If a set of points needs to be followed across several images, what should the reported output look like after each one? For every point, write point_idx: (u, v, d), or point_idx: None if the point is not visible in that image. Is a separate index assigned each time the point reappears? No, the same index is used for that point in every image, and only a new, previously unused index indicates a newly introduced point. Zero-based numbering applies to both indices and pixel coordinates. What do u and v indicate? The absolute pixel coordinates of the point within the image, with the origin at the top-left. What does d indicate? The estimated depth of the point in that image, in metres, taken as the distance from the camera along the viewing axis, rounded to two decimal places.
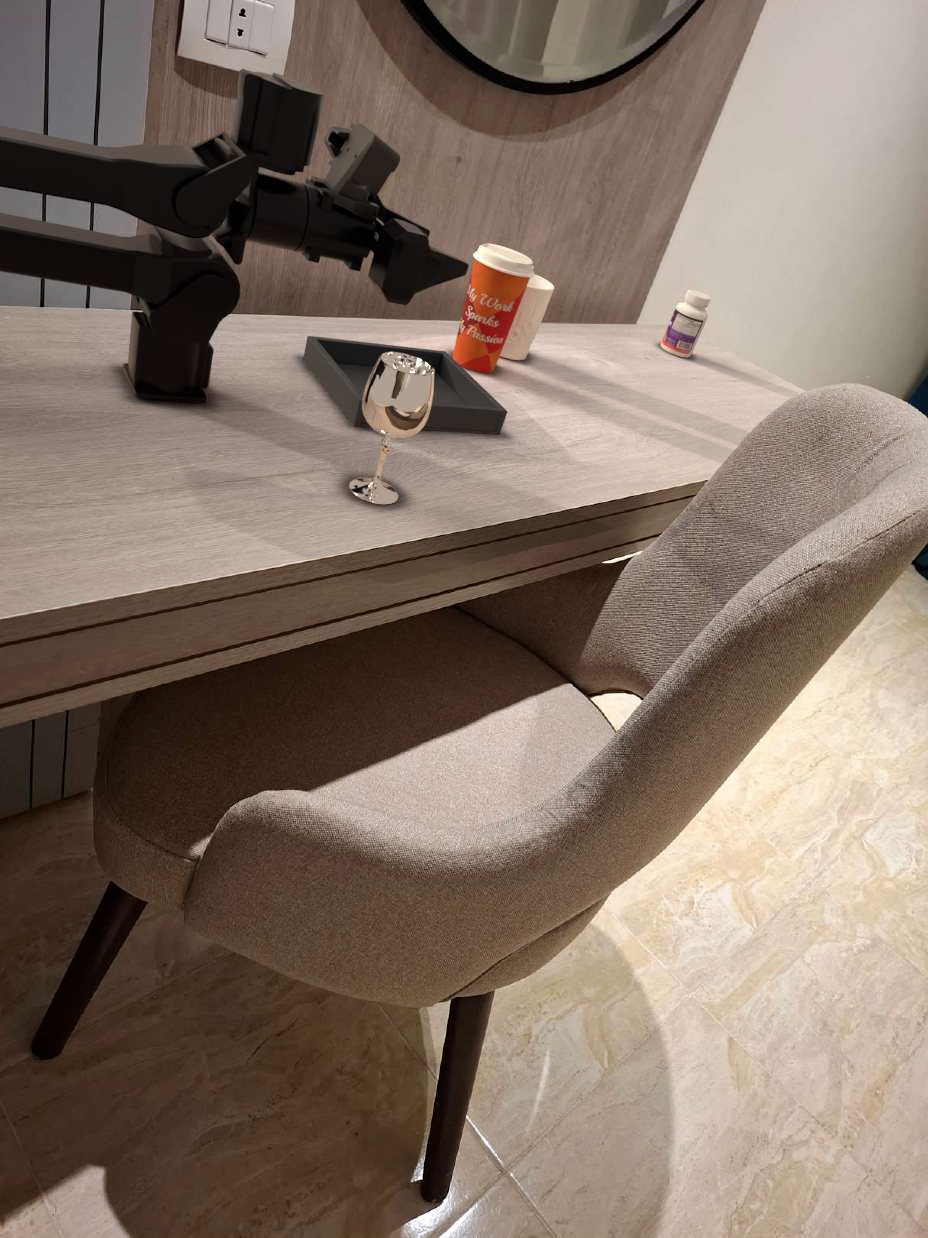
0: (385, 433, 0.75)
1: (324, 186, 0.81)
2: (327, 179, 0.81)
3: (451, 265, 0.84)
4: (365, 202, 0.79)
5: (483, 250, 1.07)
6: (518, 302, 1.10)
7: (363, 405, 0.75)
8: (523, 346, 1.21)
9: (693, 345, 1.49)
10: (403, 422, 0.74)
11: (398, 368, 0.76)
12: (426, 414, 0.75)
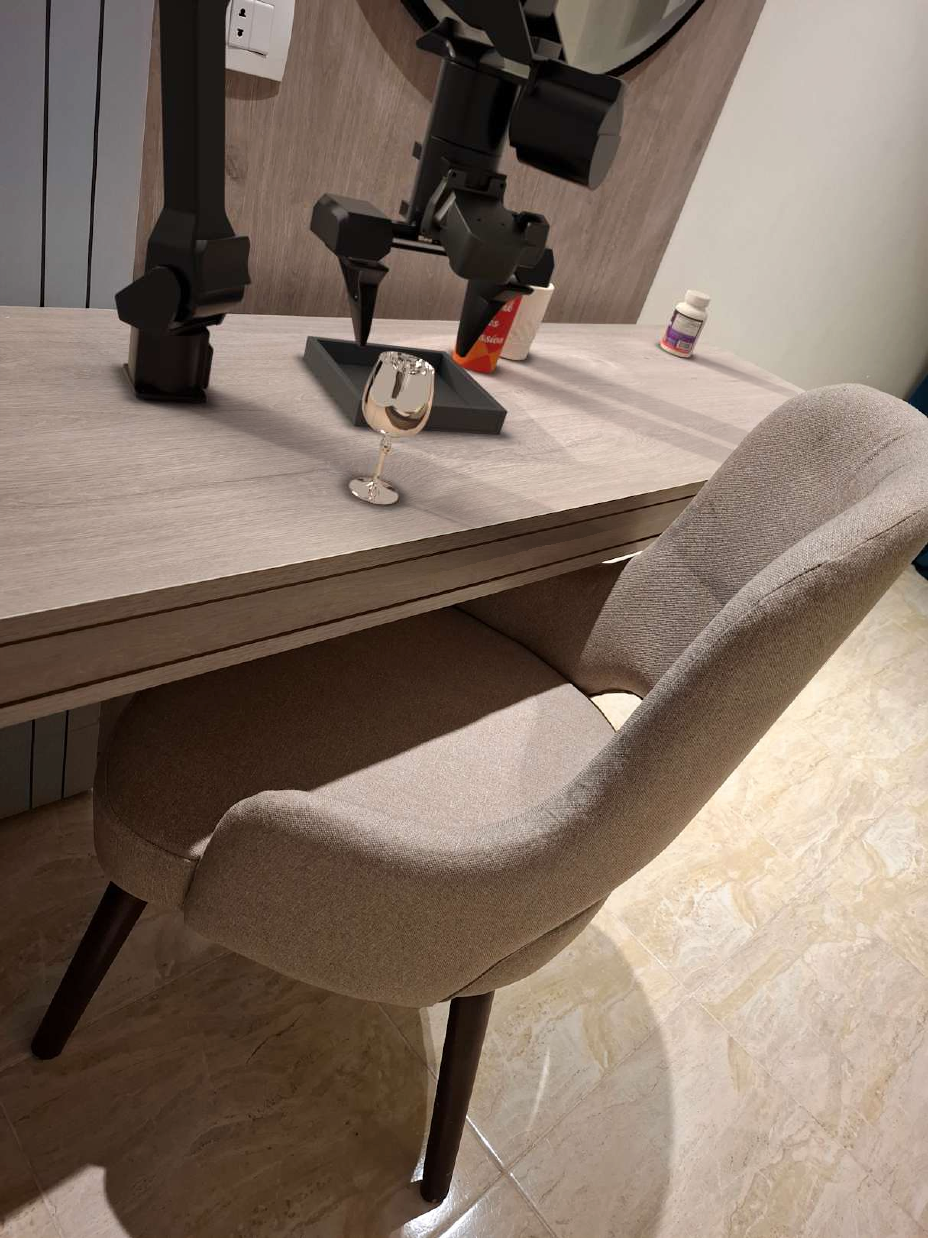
0: (385, 433, 0.75)
1: (485, 189, 0.65)
2: (492, 197, 0.65)
3: (357, 318, 0.69)
4: (433, 218, 0.64)
5: None
6: (518, 302, 1.10)
7: (363, 405, 0.75)
8: (523, 346, 1.21)
9: (693, 345, 1.49)
10: (403, 422, 0.74)
11: (398, 368, 0.76)
12: (426, 414, 0.75)
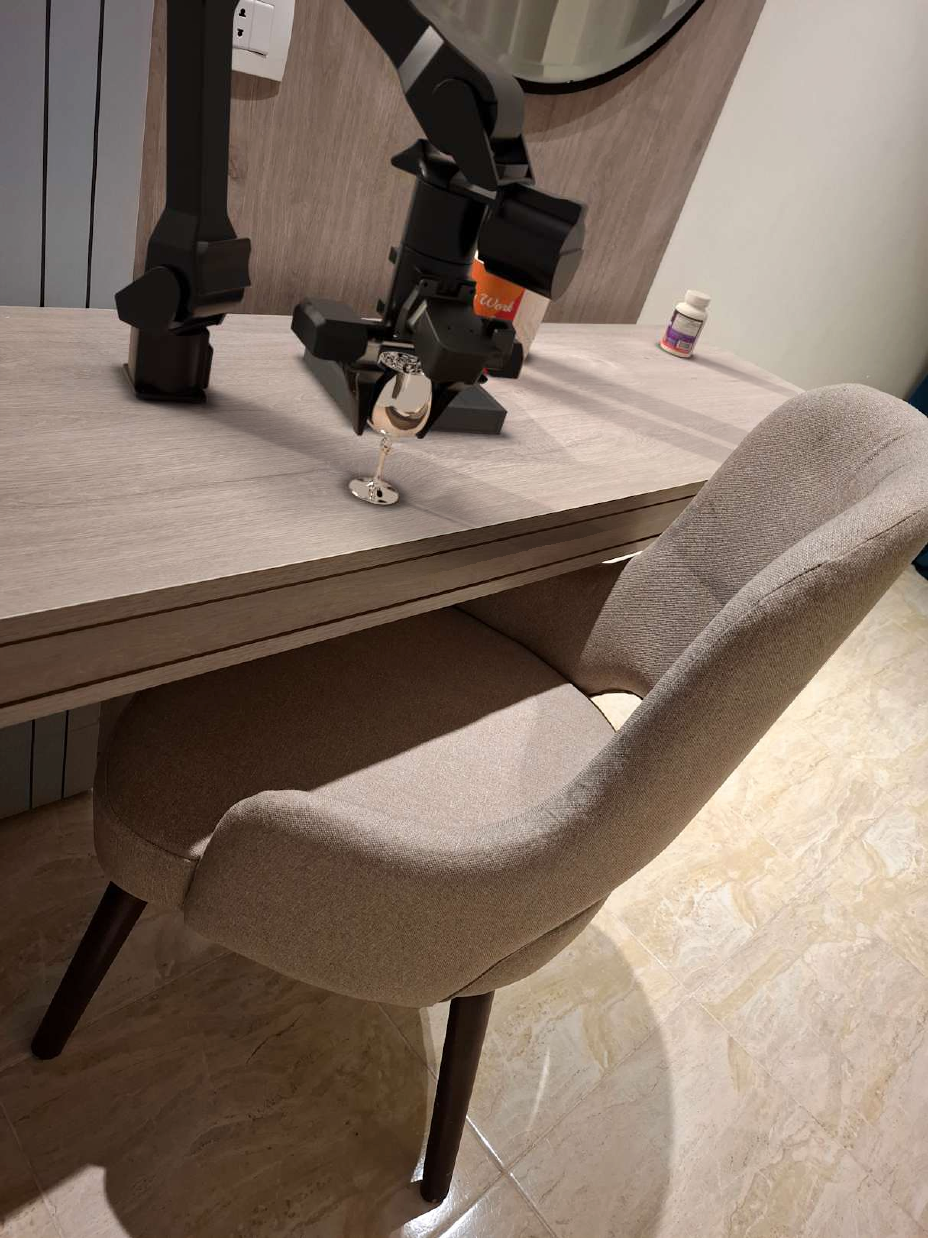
0: (385, 433, 0.75)
1: (455, 295, 0.68)
2: (463, 302, 0.69)
3: (355, 410, 0.74)
4: (406, 323, 0.68)
5: None
6: (518, 302, 1.10)
7: None
8: (523, 346, 1.21)
9: (693, 345, 1.49)
10: (403, 423, 0.74)
11: (398, 368, 0.76)
12: (426, 414, 0.75)
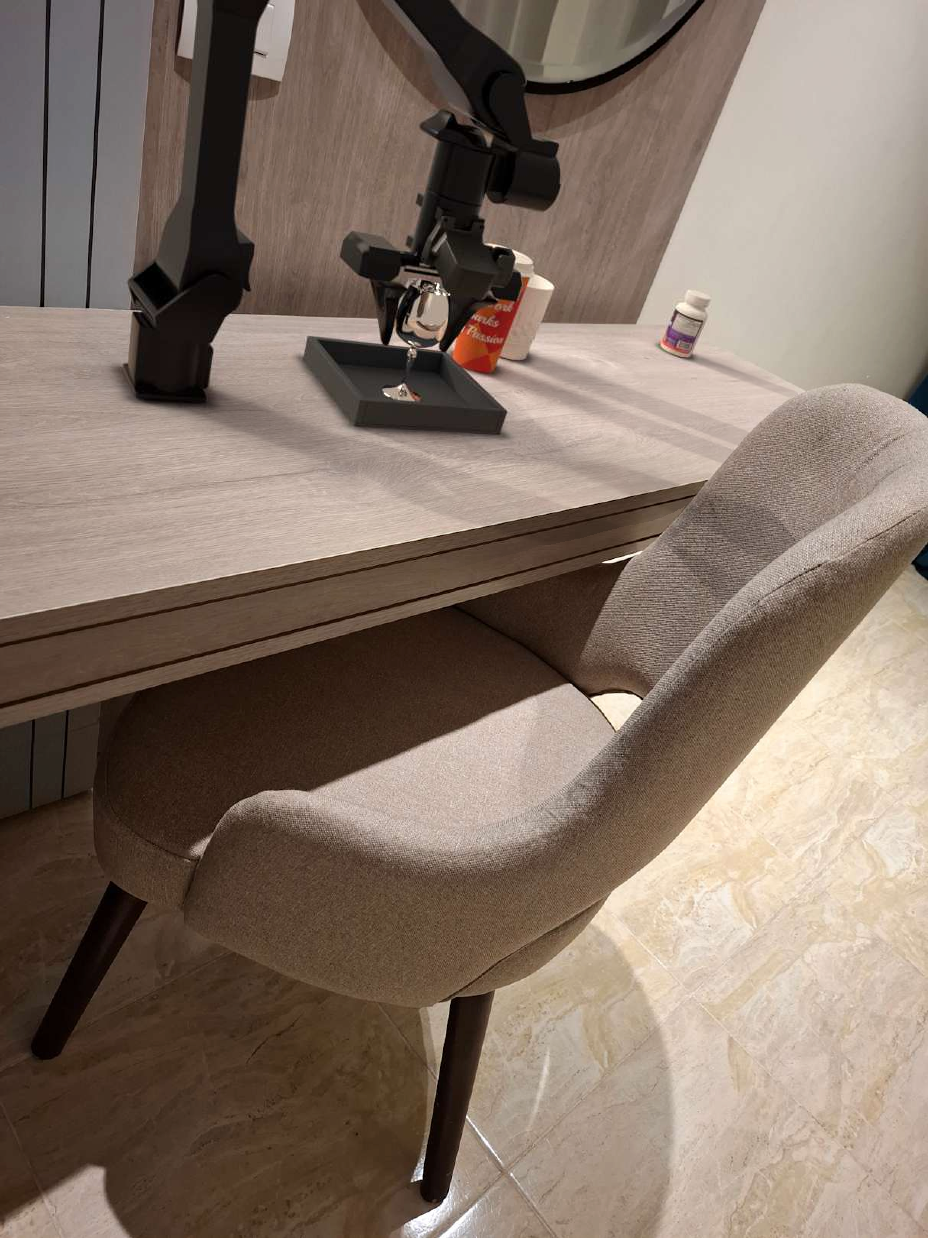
0: (412, 343, 0.94)
1: (468, 229, 0.88)
2: (474, 235, 0.88)
3: (383, 323, 0.93)
4: (430, 251, 0.87)
5: None
6: (518, 302, 1.10)
7: None
8: (523, 346, 1.21)
9: (693, 345, 1.49)
10: (426, 333, 0.93)
11: None
12: (444, 328, 0.94)
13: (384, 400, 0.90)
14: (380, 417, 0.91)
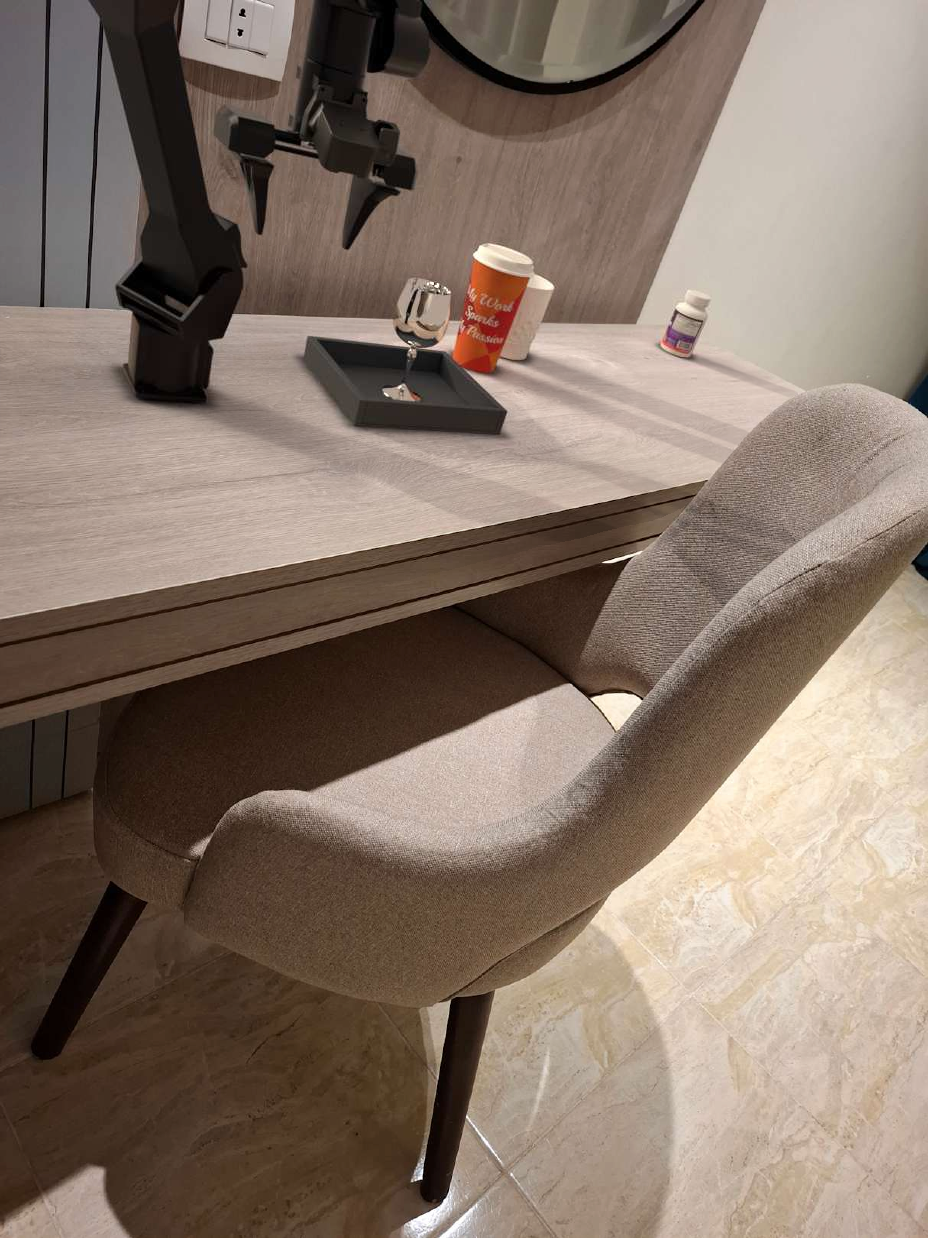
0: (412, 343, 0.94)
1: (350, 103, 0.82)
2: (356, 109, 0.82)
3: (254, 209, 0.86)
4: (307, 124, 0.81)
5: (483, 250, 1.07)
6: (518, 302, 1.10)
7: (394, 320, 0.94)
8: (523, 346, 1.21)
9: (693, 345, 1.49)
10: (426, 333, 0.93)
11: None
12: (444, 327, 0.94)
13: (384, 400, 0.90)
14: (380, 417, 0.91)
